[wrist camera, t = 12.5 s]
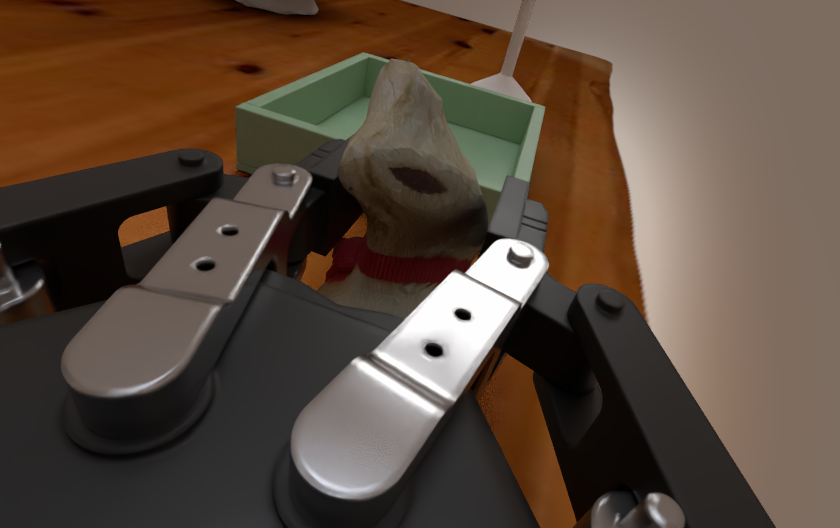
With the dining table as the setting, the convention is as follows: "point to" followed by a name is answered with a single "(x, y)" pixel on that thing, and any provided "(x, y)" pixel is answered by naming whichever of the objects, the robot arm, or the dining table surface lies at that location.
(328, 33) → the dining table surface
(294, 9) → the ceramic pitcher
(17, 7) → the dining table surface
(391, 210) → the chocolate bunny
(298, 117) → the green tub
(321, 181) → the robot arm
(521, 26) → the champagne flute
